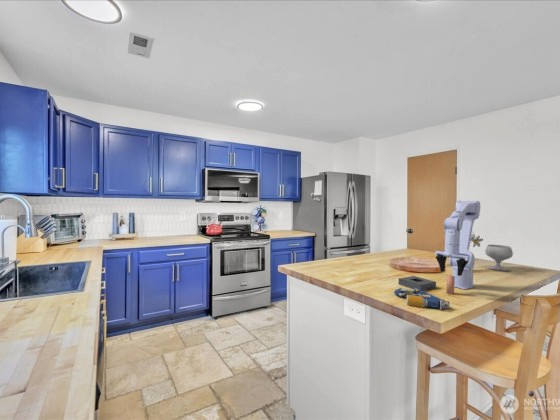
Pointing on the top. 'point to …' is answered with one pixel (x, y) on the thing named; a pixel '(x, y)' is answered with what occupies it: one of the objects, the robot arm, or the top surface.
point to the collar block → (417, 283)
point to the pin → (450, 284)
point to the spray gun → (421, 298)
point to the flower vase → (475, 240)
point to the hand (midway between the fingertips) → (450, 273)
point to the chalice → (498, 255)
